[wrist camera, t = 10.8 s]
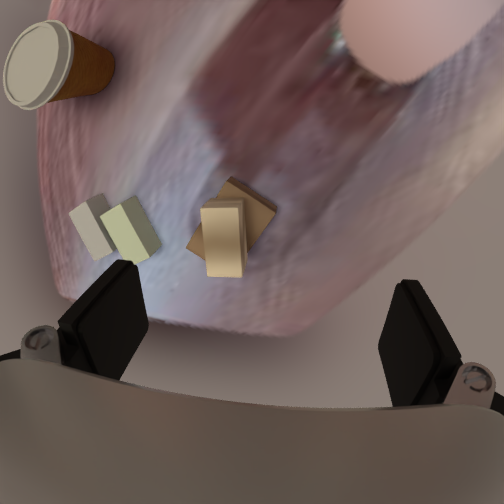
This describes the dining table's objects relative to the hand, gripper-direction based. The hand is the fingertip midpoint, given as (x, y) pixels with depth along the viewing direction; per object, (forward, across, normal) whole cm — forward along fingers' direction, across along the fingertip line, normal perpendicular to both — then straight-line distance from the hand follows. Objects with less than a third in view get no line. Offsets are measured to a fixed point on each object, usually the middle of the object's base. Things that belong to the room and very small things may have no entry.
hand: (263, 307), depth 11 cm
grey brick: (+24, +22, +7) cm, 34 cm away
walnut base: (+24, +5, +6) cm, 26 cm away
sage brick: (+24, +17, +7) cm, 31 cm away
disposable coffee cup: (+25, +23, -13) cm, 37 cm away
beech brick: (+21, +5, +6) cm, 23 cm away
